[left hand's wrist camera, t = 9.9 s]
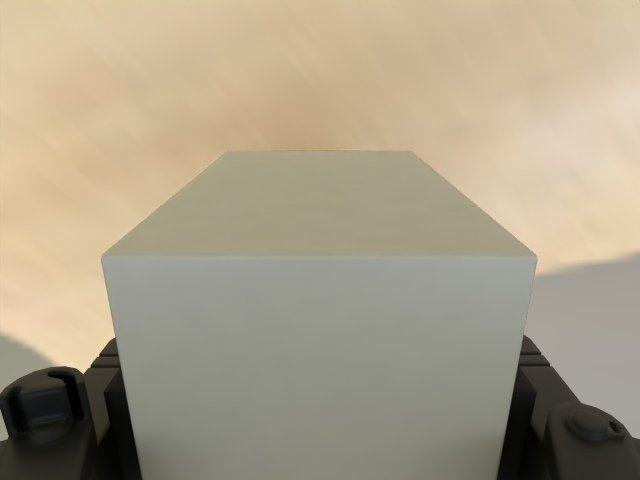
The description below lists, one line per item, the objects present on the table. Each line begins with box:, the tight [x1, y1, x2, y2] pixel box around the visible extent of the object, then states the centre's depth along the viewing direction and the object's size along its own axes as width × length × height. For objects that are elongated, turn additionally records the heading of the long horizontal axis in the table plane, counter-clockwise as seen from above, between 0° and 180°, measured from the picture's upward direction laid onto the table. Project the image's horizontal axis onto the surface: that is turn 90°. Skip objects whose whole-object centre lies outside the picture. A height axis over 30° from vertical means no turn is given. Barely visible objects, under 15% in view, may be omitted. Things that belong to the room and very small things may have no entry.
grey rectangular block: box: [101, 151, 537, 480], centre depth 12 cm, size 6×8×9 cm
